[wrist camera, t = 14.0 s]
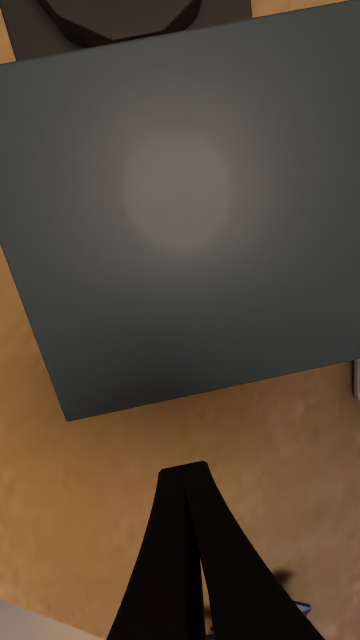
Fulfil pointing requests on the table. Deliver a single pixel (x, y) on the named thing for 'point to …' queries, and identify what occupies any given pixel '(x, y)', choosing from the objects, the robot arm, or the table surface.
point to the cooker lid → (187, 206)
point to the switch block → (107, 21)
